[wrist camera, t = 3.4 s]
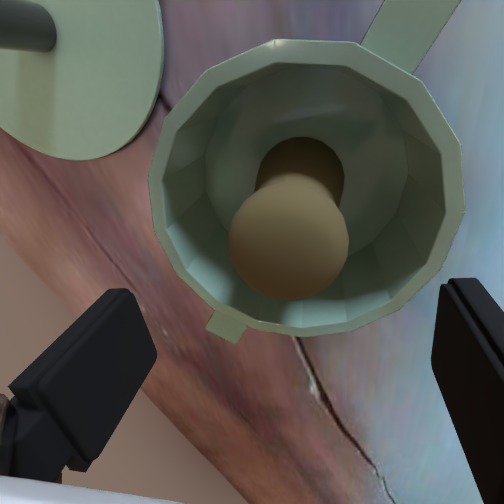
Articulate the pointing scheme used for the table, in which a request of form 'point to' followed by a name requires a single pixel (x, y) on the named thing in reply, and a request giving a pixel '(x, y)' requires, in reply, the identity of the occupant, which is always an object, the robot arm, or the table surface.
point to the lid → (79, 73)
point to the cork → (292, 222)
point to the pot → (348, 151)
